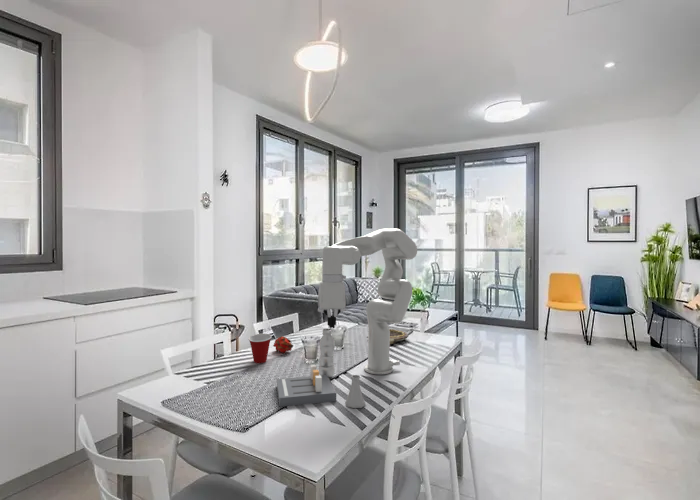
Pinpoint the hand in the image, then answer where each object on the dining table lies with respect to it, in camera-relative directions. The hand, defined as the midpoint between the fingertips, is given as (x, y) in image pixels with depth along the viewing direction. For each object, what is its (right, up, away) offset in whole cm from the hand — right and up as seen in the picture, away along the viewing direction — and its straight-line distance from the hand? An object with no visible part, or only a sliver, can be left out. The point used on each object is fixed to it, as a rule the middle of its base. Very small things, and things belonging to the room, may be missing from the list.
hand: (331, 327), depth 142 cm
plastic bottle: (-3, -24, +16) cm, 29 cm away
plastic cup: (-35, -24, +34) cm, 55 cm away
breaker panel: (-10, -25, -2) cm, 27 cm away
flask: (+9, -25, -10) cm, 29 cm away
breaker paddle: (-6, -21, -1) cm, 22 cm away
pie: (+30, -24, +76) cm, 85 cm away
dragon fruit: (-27, -23, +50) cm, 61 cm away
